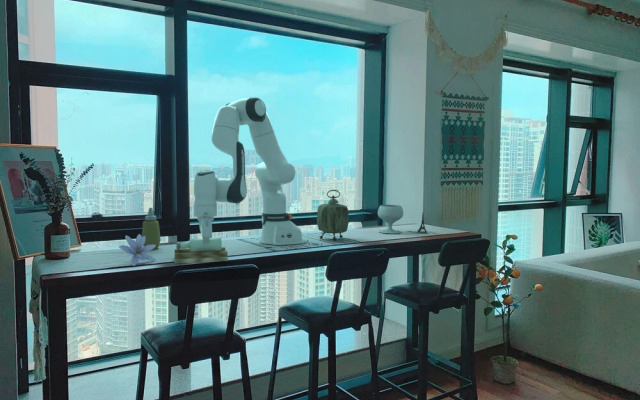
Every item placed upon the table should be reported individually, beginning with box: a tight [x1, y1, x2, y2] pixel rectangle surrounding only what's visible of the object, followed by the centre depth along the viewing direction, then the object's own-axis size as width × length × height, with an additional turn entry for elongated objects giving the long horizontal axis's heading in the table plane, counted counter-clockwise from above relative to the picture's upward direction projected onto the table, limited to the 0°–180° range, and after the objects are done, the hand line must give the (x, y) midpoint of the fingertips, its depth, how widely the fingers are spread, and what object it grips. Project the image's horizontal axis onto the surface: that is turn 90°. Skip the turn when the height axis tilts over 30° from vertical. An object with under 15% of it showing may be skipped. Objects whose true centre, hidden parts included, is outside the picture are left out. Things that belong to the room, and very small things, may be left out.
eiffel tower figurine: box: [407, 213, 436, 235], centre depth 271 cm, size 15×10×13 cm
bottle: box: [175, 237, 223, 252], centre depth 193 cm, size 17×5×5 cm, turn 106°
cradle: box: [174, 246, 229, 264], centre depth 193 cm, size 20×12×4 cm, turn 106°
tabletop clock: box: [316, 189, 350, 241], centre depth 242 cm, size 14×9×25 cm, turn 108°
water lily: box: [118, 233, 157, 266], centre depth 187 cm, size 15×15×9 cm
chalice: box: [377, 204, 404, 235], centre depth 268 cm, size 14×14×15 cm
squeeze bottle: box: [141, 207, 162, 250], centre depth 214 cm, size 8×8×18 cm
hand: (205, 246), depth 194 cm, fingers closed on bottle, 5 cm apart
